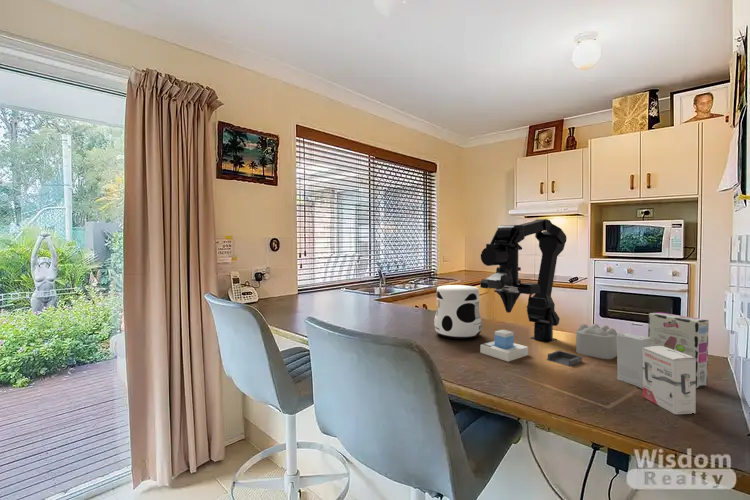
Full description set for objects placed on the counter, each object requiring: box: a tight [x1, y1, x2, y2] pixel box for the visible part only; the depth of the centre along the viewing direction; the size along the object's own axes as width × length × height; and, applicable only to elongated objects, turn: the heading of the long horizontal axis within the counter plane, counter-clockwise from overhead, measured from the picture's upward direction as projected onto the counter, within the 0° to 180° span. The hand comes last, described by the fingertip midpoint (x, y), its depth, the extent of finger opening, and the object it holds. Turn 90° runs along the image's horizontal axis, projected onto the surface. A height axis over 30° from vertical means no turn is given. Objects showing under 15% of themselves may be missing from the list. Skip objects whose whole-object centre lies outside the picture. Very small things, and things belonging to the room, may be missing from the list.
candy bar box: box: [647, 311, 709, 389], centre depth 92 cm, size 11×5×16 cm, turn 22°
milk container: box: [433, 284, 483, 340], centre depth 134 cm, size 17×17×18 cm
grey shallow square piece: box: [546, 350, 583, 367], centre depth 105 cm, size 7×7×2 cm
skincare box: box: [616, 332, 651, 390], centre depth 89 cm, size 6×4×12 cm
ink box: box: [642, 346, 697, 415], centre depth 78 cm, size 9×5×12 cm, turn 5°
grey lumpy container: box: [575, 323, 618, 360], centre depth 113 cm, size 10×13×9 cm
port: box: [479, 340, 529, 362], centre depth 112 cm, size 10×10×3 cm
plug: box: [494, 329, 515, 349], centre depth 112 cm, size 4×4×7 cm
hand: (508, 312), depth 116 cm, fingers closed
